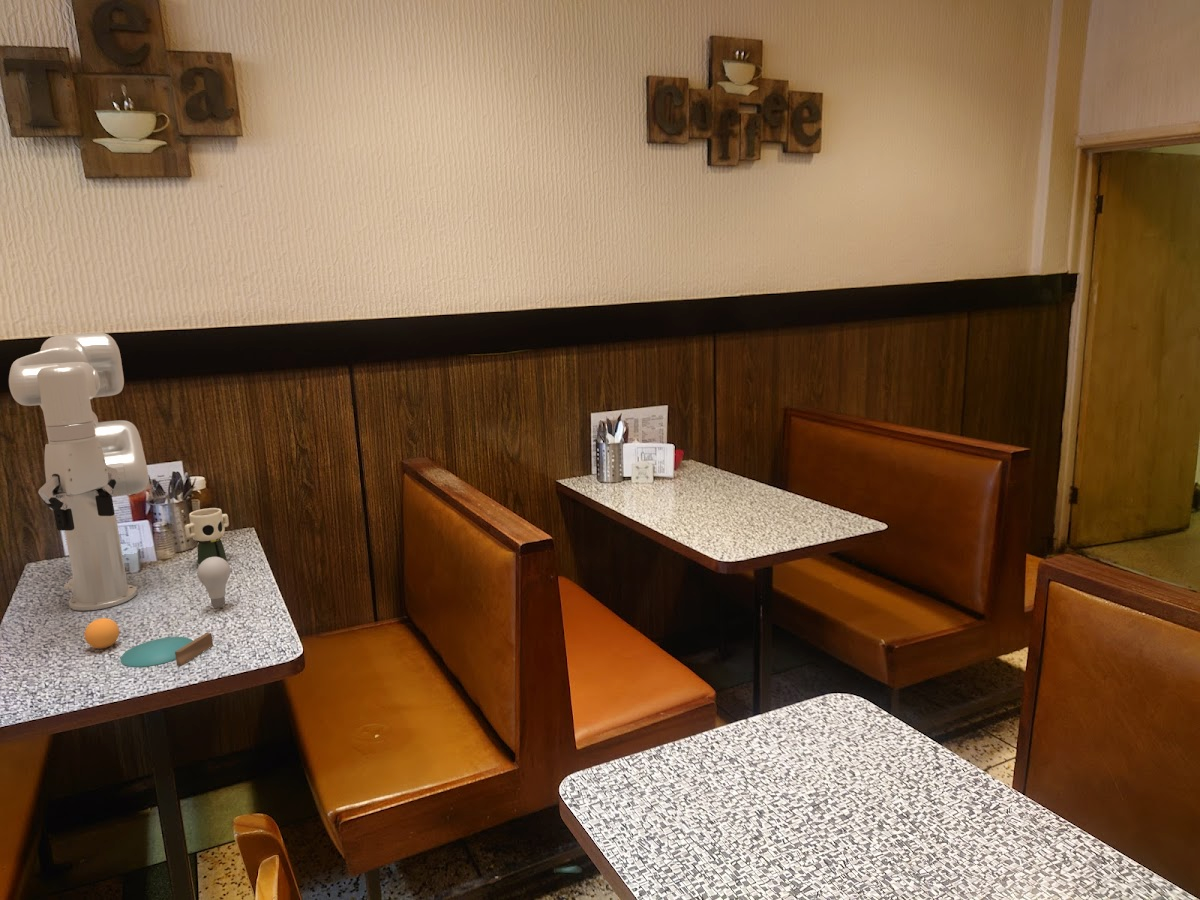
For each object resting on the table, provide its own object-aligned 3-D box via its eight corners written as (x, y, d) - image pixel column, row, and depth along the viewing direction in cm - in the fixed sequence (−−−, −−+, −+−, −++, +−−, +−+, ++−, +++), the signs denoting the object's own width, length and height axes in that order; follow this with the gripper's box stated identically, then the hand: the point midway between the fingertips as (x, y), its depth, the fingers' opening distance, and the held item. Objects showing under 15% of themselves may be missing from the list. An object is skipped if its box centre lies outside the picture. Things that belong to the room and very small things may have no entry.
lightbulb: (226, 613, 168) (219, 562, 166) (197, 614, 168) (189, 563, 166) (240, 602, 174) (233, 552, 172) (211, 603, 174) (204, 553, 172)
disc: (104, 664, 147) (104, 663, 147) (155, 635, 158) (155, 634, 158) (161, 669, 144) (161, 668, 144) (209, 640, 155) (209, 639, 155)
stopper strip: (176, 665, 146) (174, 651, 145) (208, 645, 153) (206, 632, 153) (181, 665, 145) (179, 652, 145) (213, 645, 153) (211, 633, 152)
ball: (80, 652, 152) (74, 624, 151) (104, 639, 157) (99, 612, 156) (104, 654, 151) (99, 626, 150) (128, 641, 156) (123, 614, 155)
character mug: (200, 573, 192) (192, 519, 190) (182, 568, 196) (174, 516, 194) (242, 559, 201) (235, 507, 199) (224, 555, 205) (217, 504, 203)
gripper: (90, 425, 162) (104, 510, 165) (13, 442, 145) (31, 536, 148) (124, 424, 160) (137, 510, 164) (50, 441, 144) (66, 536, 147)
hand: (87, 522), depth 156 cm, fingers open, 9 cm apart
